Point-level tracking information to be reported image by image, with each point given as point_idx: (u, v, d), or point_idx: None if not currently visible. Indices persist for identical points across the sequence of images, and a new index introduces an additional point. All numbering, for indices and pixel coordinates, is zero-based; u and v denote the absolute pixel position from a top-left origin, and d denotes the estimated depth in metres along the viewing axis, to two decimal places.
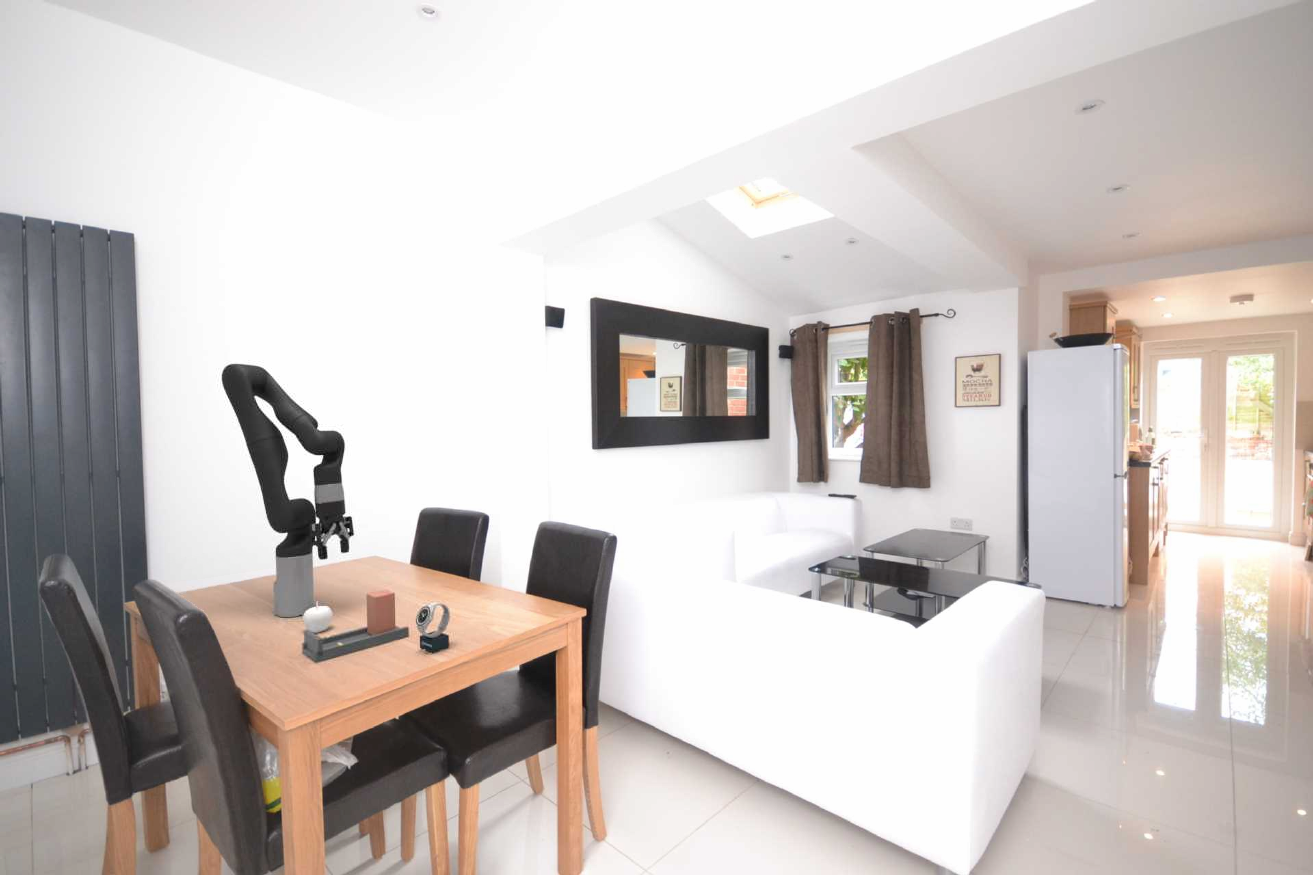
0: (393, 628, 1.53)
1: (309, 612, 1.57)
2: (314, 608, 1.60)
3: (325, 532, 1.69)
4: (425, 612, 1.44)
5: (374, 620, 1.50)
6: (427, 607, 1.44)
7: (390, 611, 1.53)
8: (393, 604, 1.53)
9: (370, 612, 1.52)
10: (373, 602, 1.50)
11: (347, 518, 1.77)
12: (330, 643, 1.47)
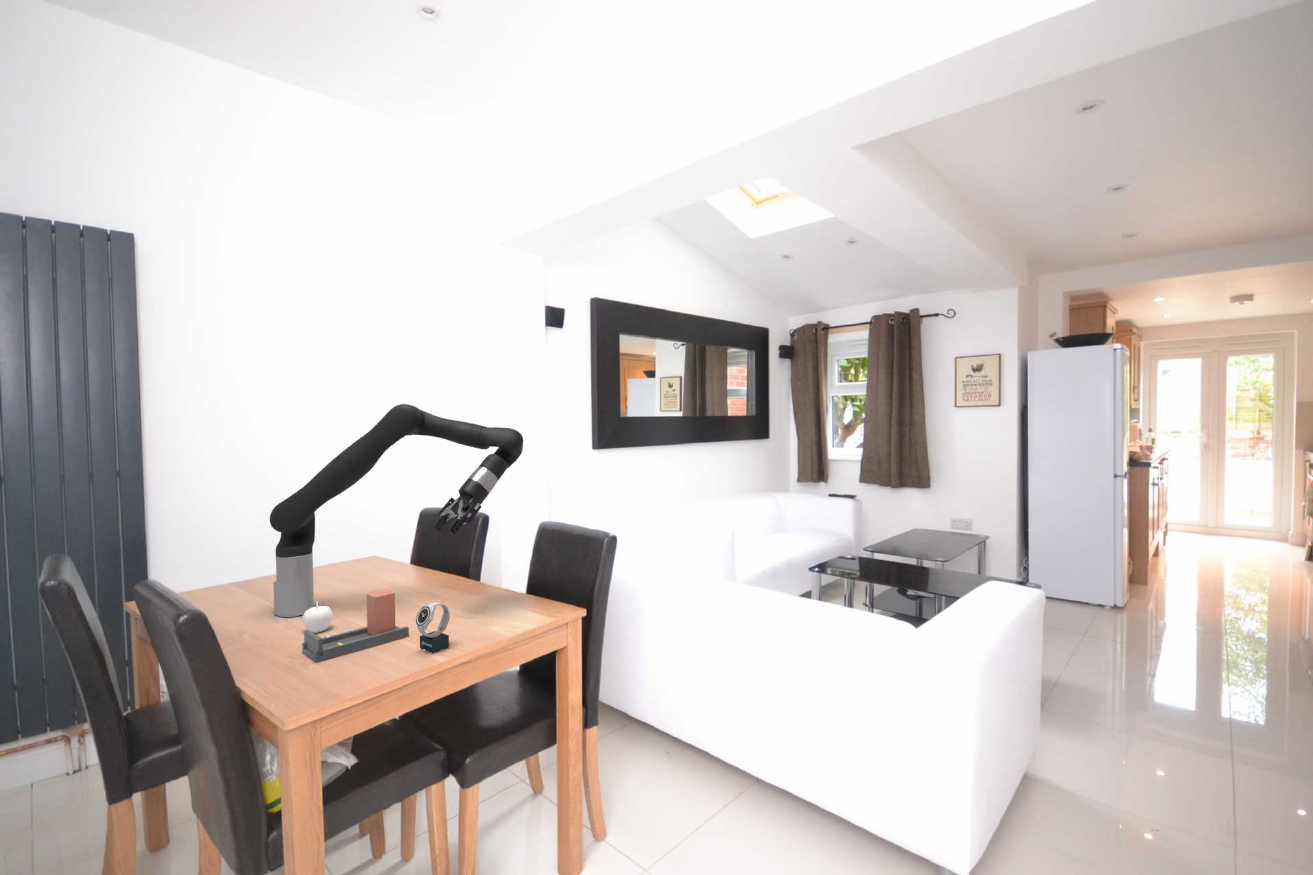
0: (393, 628, 1.53)
1: (309, 612, 1.57)
2: (314, 608, 1.60)
3: (465, 511, 1.68)
4: (425, 612, 1.44)
5: (374, 620, 1.50)
6: (427, 607, 1.44)
7: (390, 611, 1.53)
8: (393, 604, 1.53)
9: (370, 612, 1.52)
10: (373, 602, 1.50)
11: None
12: (330, 643, 1.47)
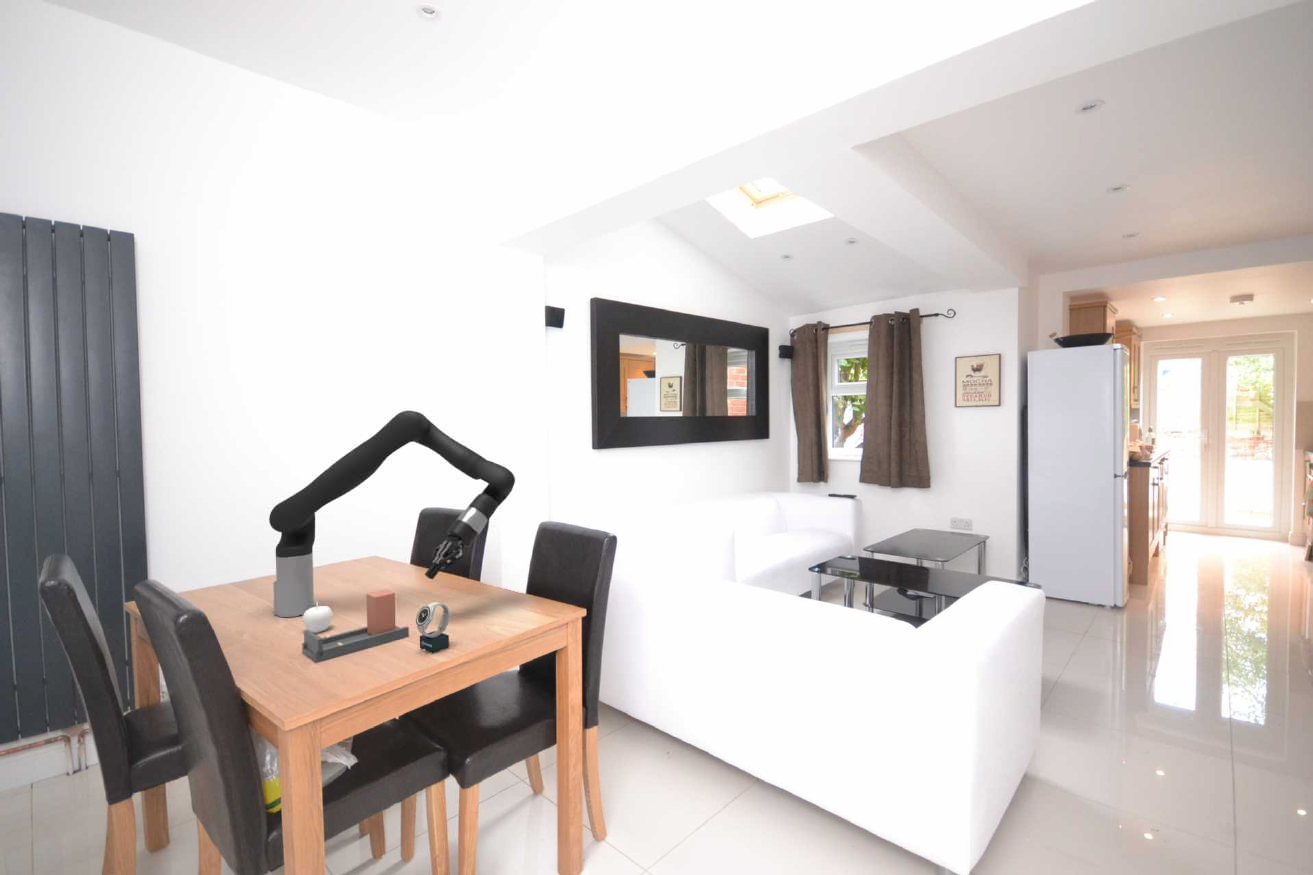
0: (393, 628, 1.53)
1: (309, 612, 1.57)
2: (314, 608, 1.60)
3: None
4: (425, 612, 1.44)
5: (374, 620, 1.50)
6: (427, 607, 1.44)
7: (390, 611, 1.53)
8: (393, 604, 1.53)
9: (370, 612, 1.52)
10: (373, 602, 1.50)
11: None
12: (330, 643, 1.47)
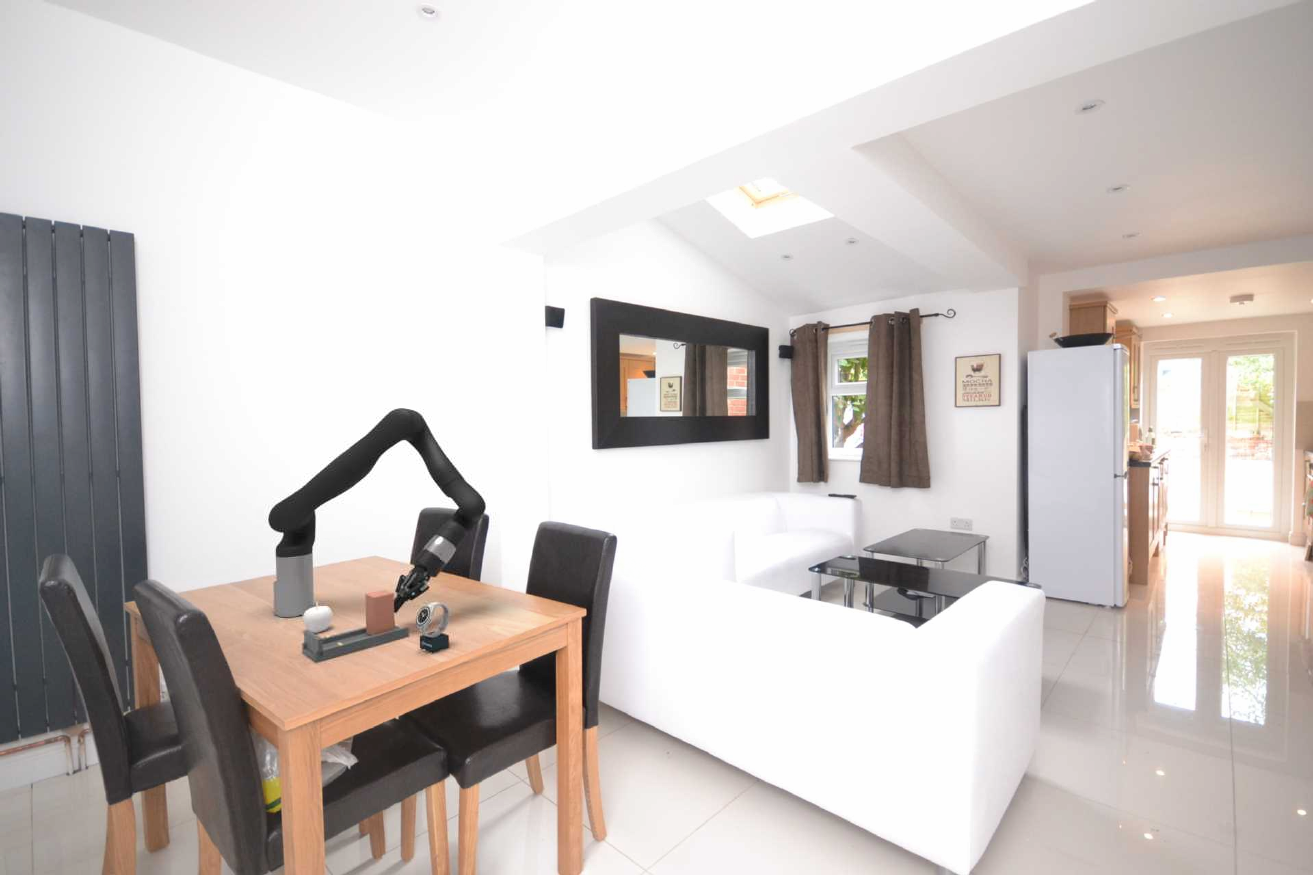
0: (392, 628, 1.53)
1: (309, 612, 1.57)
2: (314, 608, 1.60)
3: None
4: (425, 612, 1.44)
5: (373, 621, 1.50)
6: (427, 607, 1.44)
7: (389, 612, 1.53)
8: (392, 604, 1.53)
9: (369, 612, 1.52)
10: (372, 602, 1.50)
11: None
12: (330, 643, 1.47)
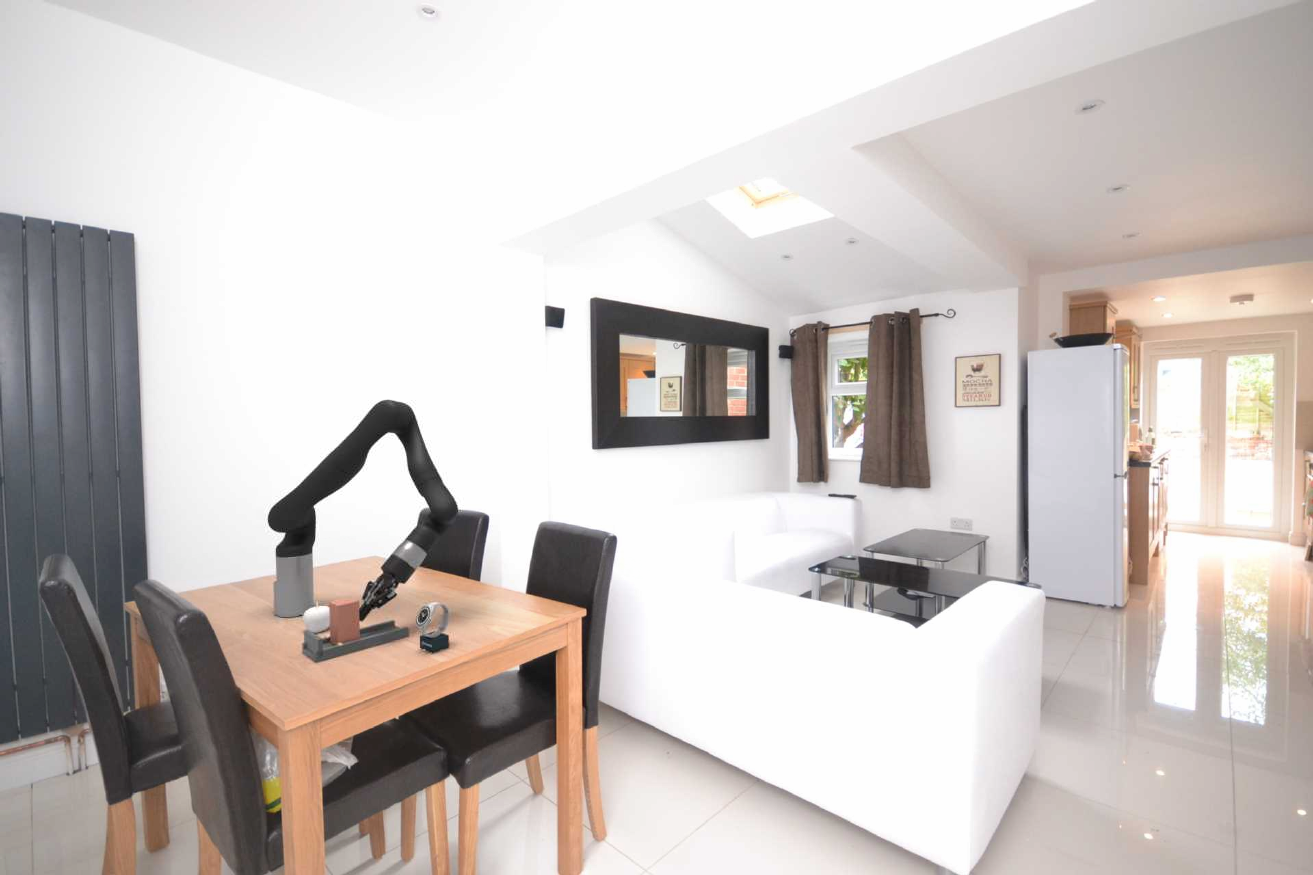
0: (357, 638, 1.47)
1: (309, 612, 1.57)
2: (314, 608, 1.60)
3: None
4: (425, 612, 1.44)
5: (336, 630, 1.44)
6: (427, 607, 1.44)
7: (354, 620, 1.46)
8: (357, 613, 1.47)
9: (333, 621, 1.45)
10: (336, 610, 1.44)
11: None
12: (330, 643, 1.47)
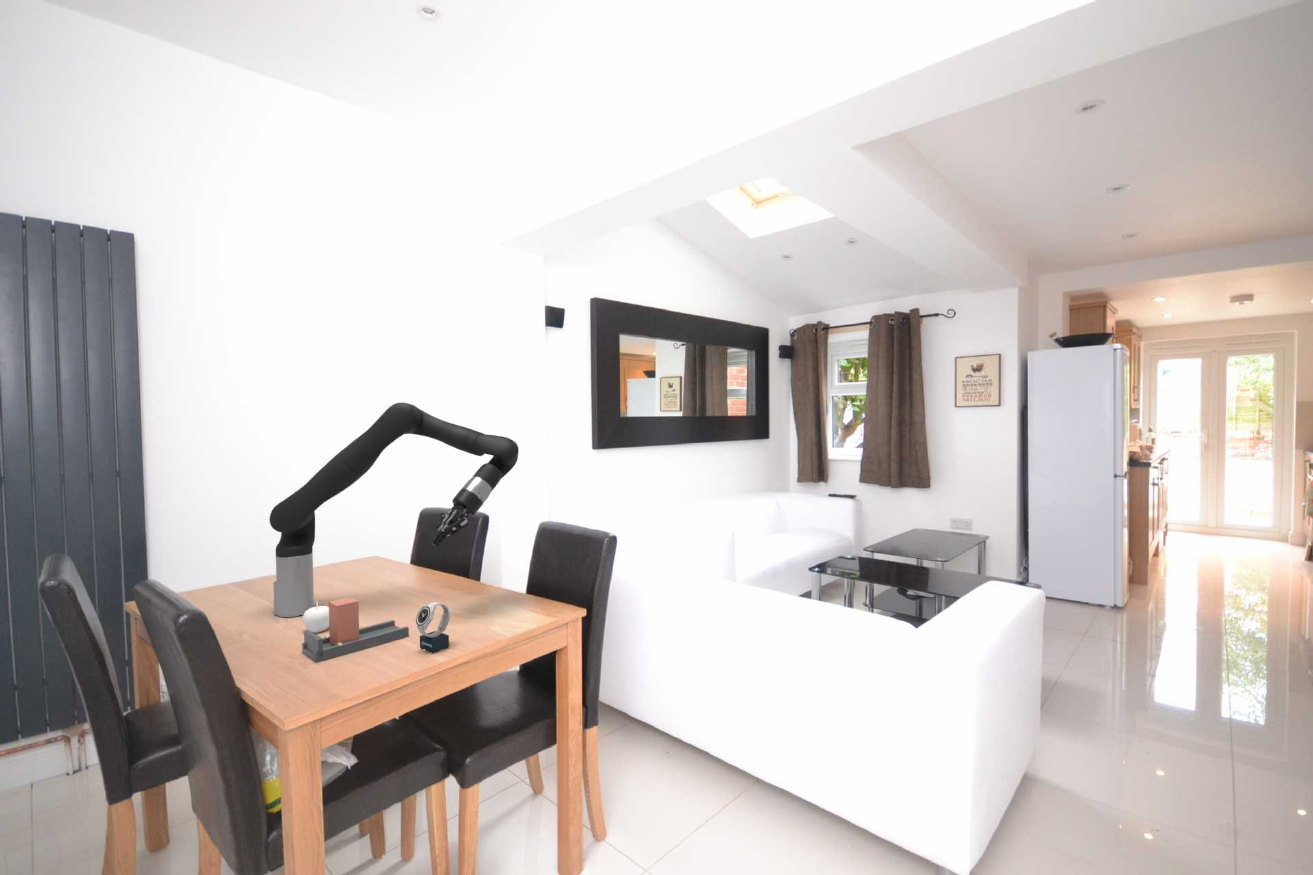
0: (357, 638, 1.47)
1: (309, 612, 1.57)
2: (314, 608, 1.60)
3: None
4: (425, 612, 1.44)
5: (336, 630, 1.44)
6: (427, 607, 1.44)
7: (353, 620, 1.46)
8: (357, 613, 1.47)
9: (332, 621, 1.45)
10: (335, 610, 1.44)
11: None
12: (330, 643, 1.47)
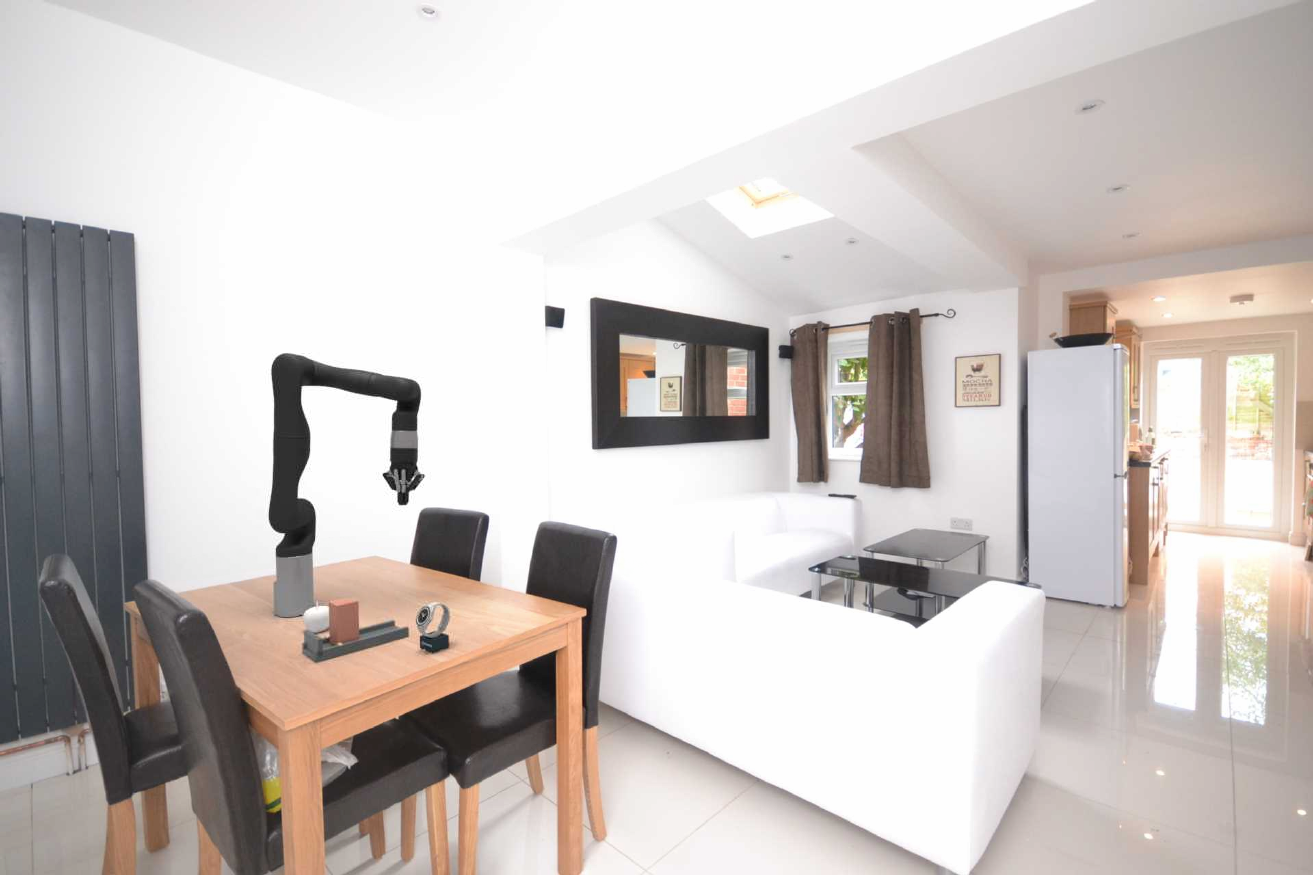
0: (357, 638, 1.47)
1: (309, 612, 1.57)
2: (314, 608, 1.60)
3: None
4: (425, 612, 1.44)
5: (336, 630, 1.44)
6: (427, 607, 1.44)
7: (353, 620, 1.46)
8: (357, 613, 1.47)
9: (332, 621, 1.45)
10: (335, 610, 1.44)
11: None
12: (330, 643, 1.47)
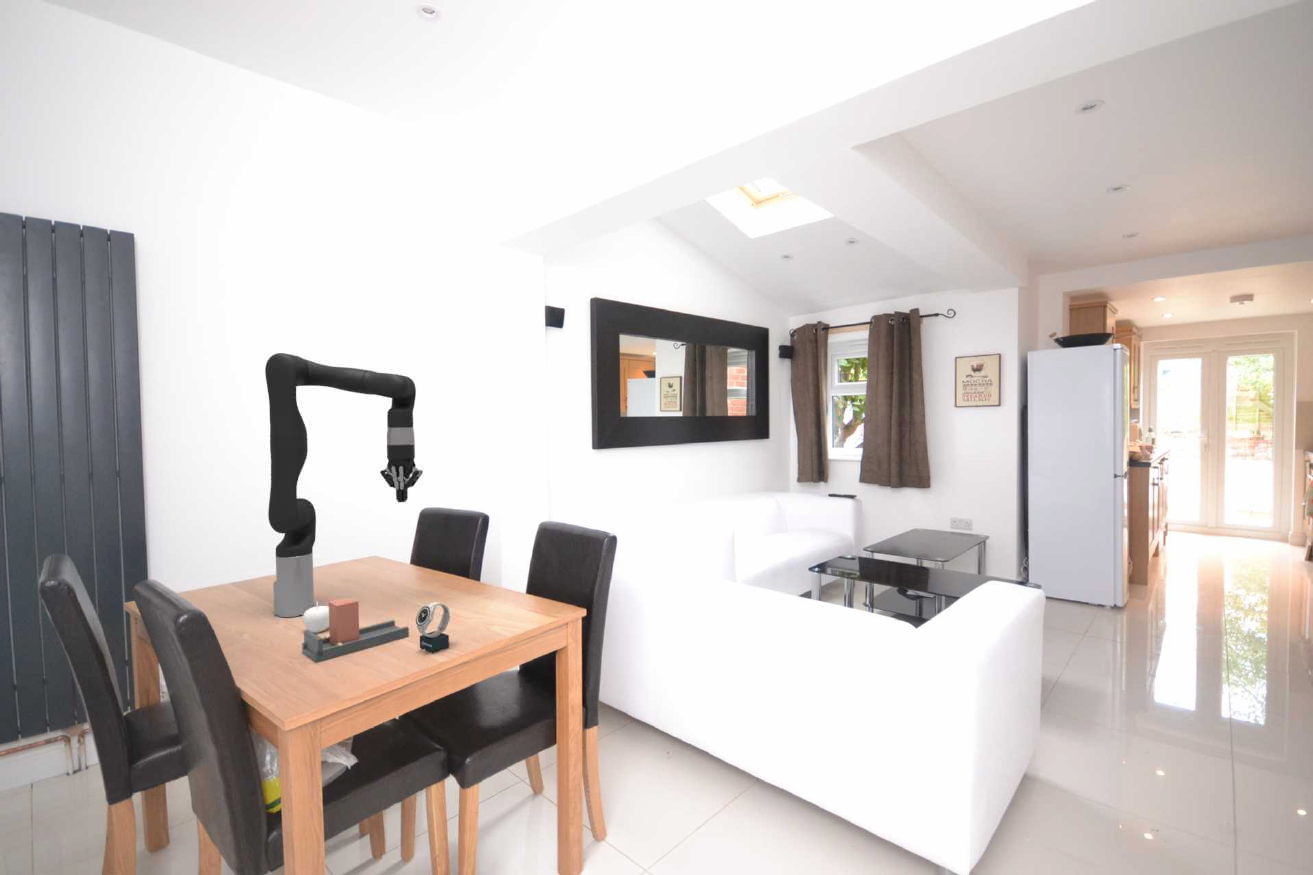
0: (357, 638, 1.47)
1: (309, 612, 1.57)
2: (314, 608, 1.60)
3: None
4: (425, 612, 1.44)
5: (336, 630, 1.44)
6: (427, 607, 1.44)
7: (353, 620, 1.46)
8: (357, 613, 1.47)
9: (332, 621, 1.45)
10: (335, 610, 1.44)
11: None
12: (330, 643, 1.47)
